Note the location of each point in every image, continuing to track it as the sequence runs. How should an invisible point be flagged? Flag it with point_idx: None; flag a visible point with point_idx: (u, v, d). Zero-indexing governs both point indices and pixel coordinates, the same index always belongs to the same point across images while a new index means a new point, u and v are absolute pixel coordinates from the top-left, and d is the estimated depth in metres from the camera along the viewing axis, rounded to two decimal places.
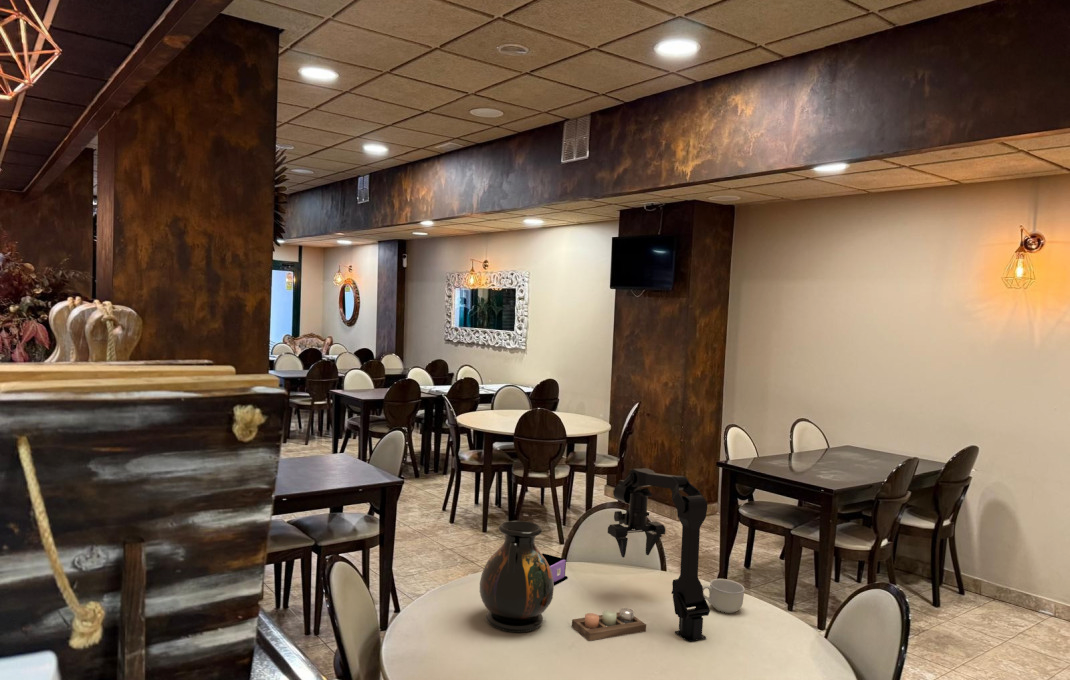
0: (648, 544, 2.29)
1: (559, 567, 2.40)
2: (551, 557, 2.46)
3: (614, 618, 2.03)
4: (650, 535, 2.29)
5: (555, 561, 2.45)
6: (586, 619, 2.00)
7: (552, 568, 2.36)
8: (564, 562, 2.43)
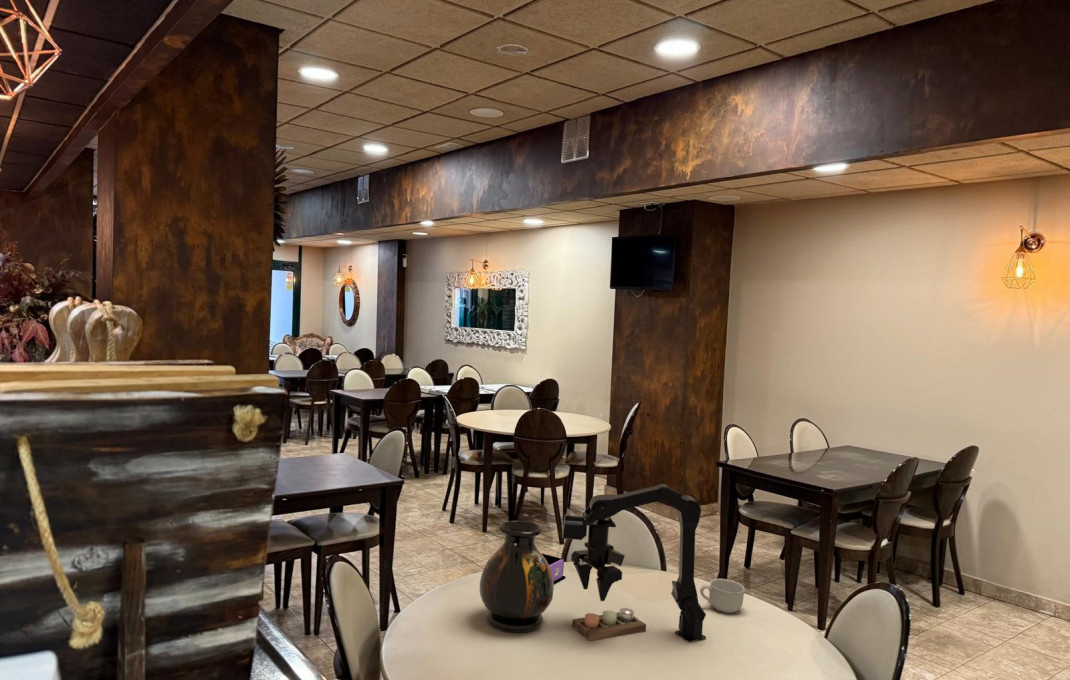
0: None
1: (557, 567, 2.40)
2: (549, 557, 2.46)
3: (614, 618, 2.03)
4: None
5: (553, 560, 2.45)
6: (586, 619, 2.00)
7: (550, 568, 2.36)
8: (562, 562, 2.43)
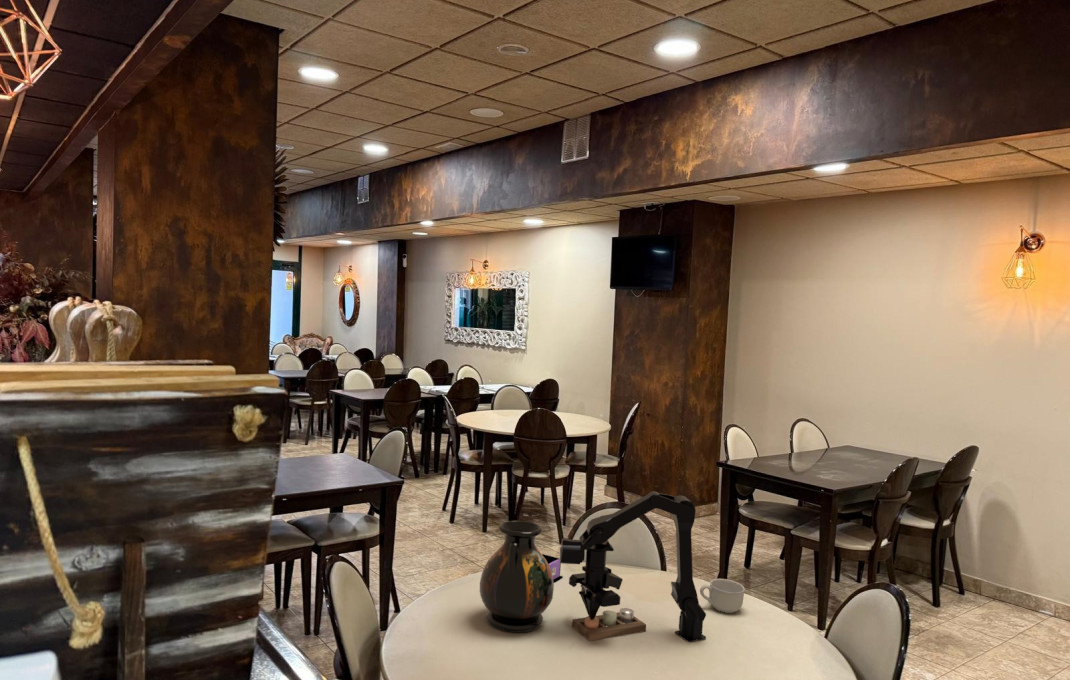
0: None
1: (554, 567, 2.40)
2: (546, 557, 2.46)
3: (614, 618, 2.03)
4: None
5: (550, 560, 2.46)
6: (586, 622, 2.00)
7: None
8: (559, 562, 2.43)
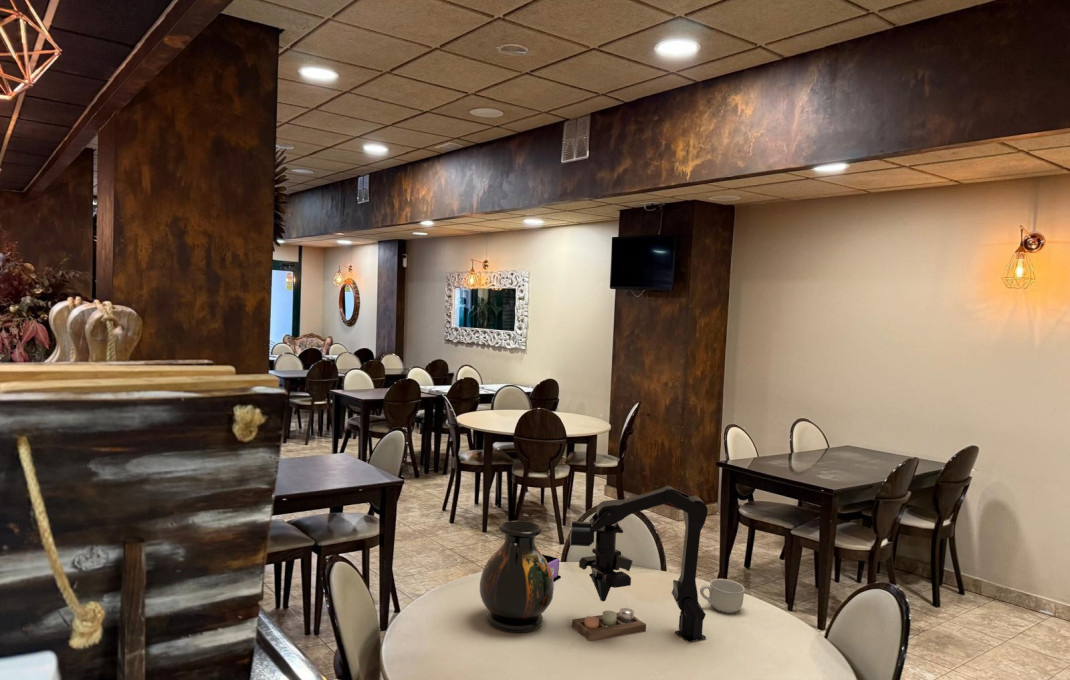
0: None
1: (552, 566, 2.40)
2: (544, 556, 2.46)
3: (614, 618, 2.03)
4: None
5: (549, 560, 2.46)
6: (586, 622, 2.00)
7: None
8: (557, 561, 2.43)
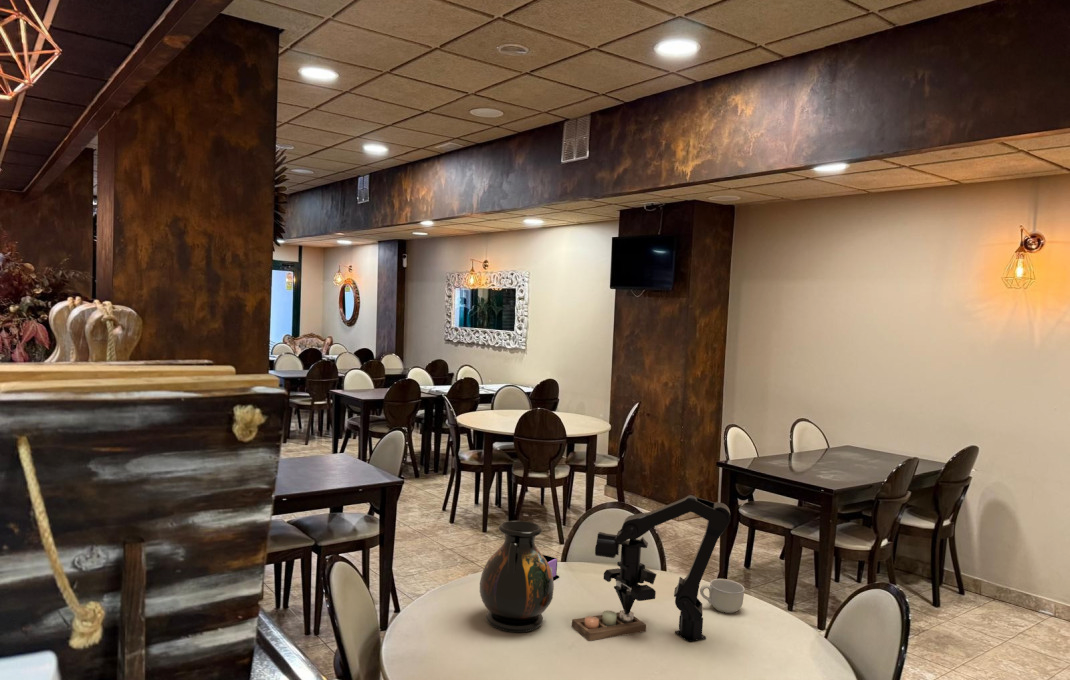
0: None
1: (551, 566, 2.40)
2: None
3: (614, 618, 2.03)
4: None
5: (547, 560, 2.46)
6: (586, 622, 2.00)
7: None
8: (555, 561, 2.43)
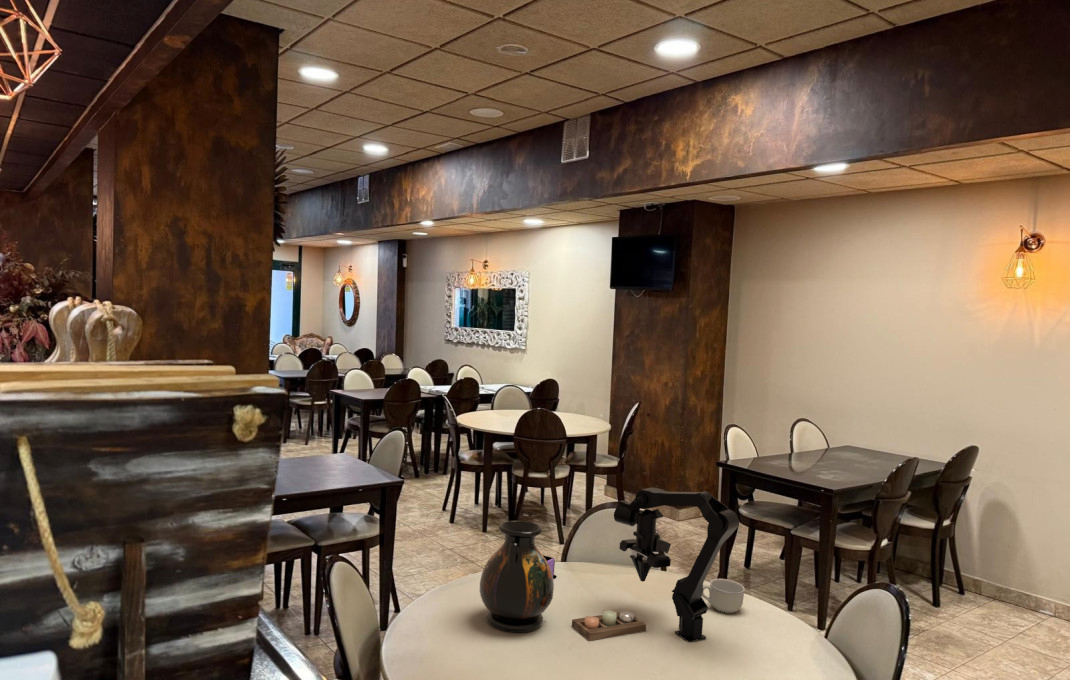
0: None
1: None
2: None
3: (614, 618, 2.03)
4: None
5: None
6: (586, 622, 2.00)
7: None
8: (553, 561, 2.43)
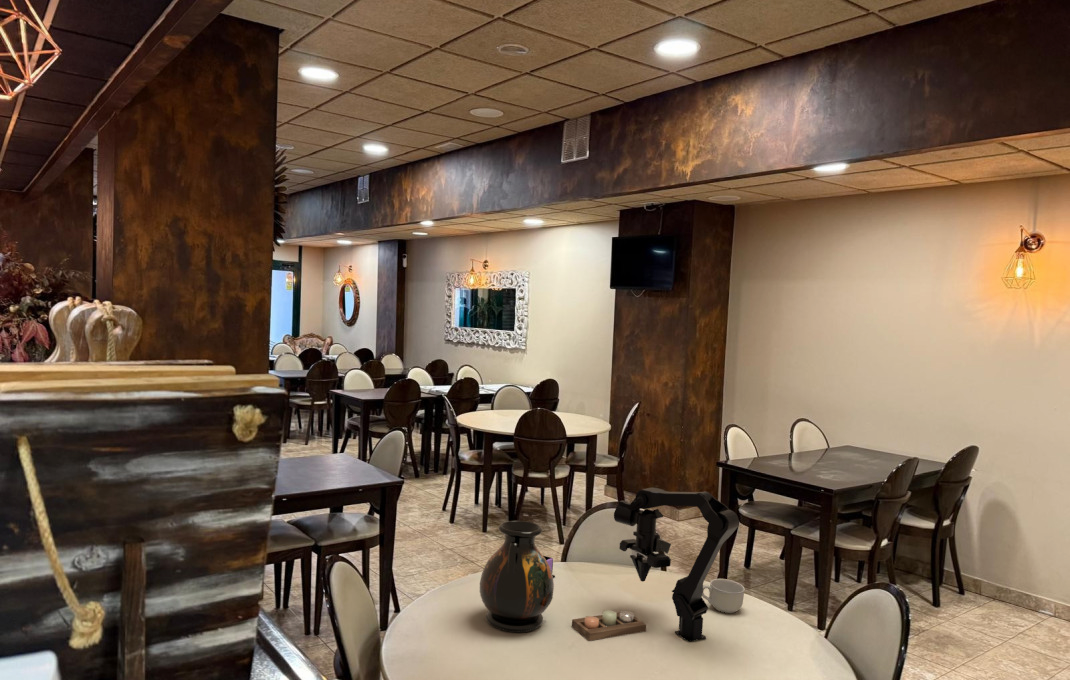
0: None
1: None
2: None
3: (614, 618, 2.03)
4: None
5: None
6: (586, 622, 2.00)
7: None
8: (551, 561, 2.44)
